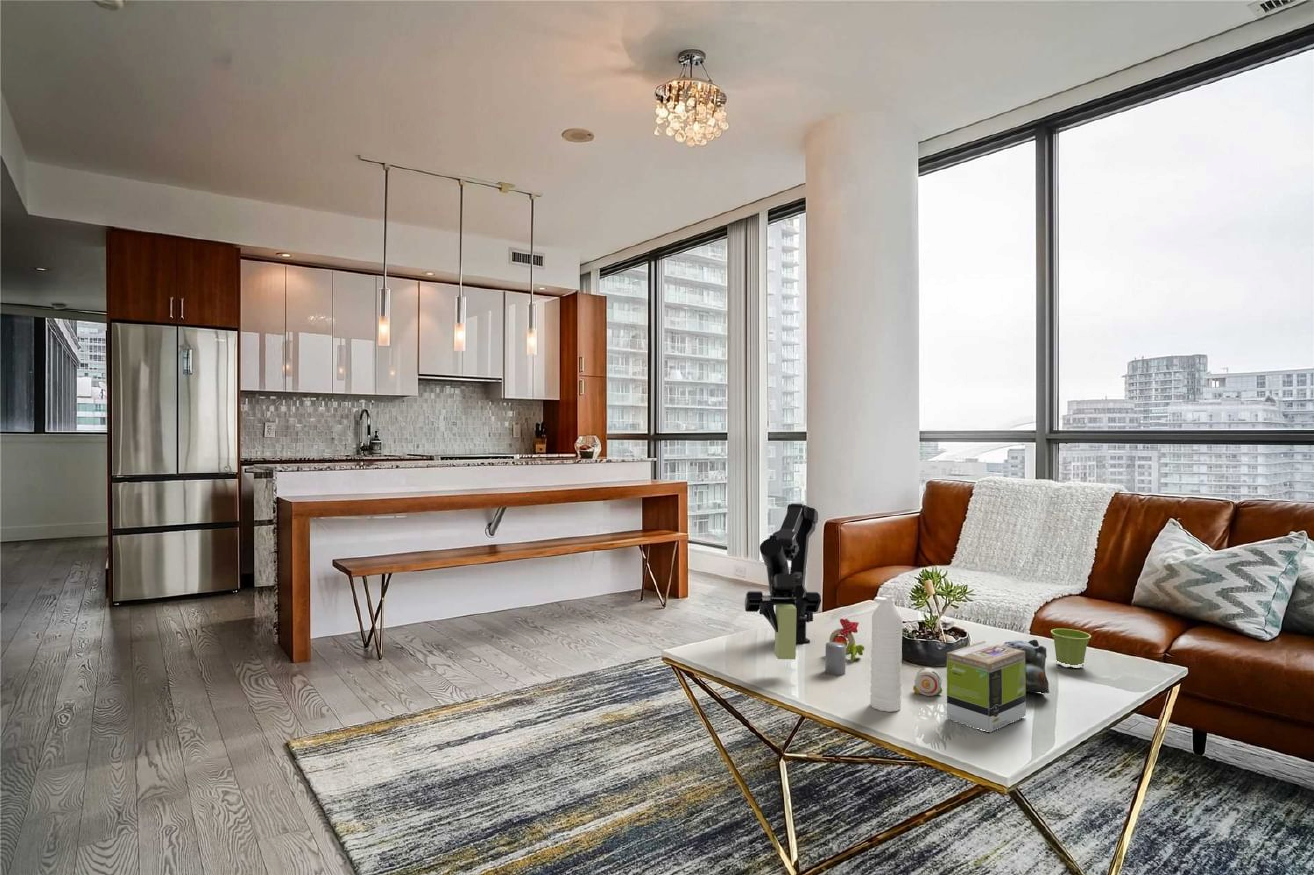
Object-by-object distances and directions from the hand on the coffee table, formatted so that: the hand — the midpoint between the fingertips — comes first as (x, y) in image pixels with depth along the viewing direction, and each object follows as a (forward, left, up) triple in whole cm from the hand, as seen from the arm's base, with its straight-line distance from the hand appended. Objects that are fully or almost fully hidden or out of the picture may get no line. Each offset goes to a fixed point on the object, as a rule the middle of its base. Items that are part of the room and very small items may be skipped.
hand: (786, 631), depth 185 cm
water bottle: (+23, +14, -12) cm, 29 cm away
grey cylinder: (-2, +14, -12) cm, 19 cm away
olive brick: (-1, 0, -7) cm, 7 cm away
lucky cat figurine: (+17, +51, -12) cm, 55 cm away
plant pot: (+2, +79, -12) cm, 80 cm away
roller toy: (+16, +29, -12) cm, 35 cm away
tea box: (+32, +33, -12) cm, 47 cm away
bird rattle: (-13, +22, -12) cm, 29 cm away
